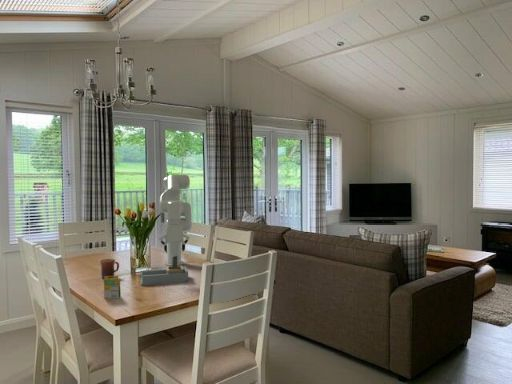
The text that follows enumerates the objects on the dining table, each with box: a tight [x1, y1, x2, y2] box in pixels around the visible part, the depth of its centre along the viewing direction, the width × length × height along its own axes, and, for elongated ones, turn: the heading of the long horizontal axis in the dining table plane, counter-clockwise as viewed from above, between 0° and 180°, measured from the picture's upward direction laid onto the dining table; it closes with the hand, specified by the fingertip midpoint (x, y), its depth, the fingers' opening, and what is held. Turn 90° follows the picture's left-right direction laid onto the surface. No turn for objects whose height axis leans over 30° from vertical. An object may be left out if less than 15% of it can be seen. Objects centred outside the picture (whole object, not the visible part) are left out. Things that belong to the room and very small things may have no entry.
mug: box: [99, 258, 120, 279], centre depth 239 cm, size 12×9×10 cm
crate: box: [166, 256, 184, 274], centre depth 233 cm, size 9×9×12 cm
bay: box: [140, 266, 189, 286], centre depth 232 cm, size 13×26×6 cm, turn 106°
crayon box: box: [103, 275, 121, 300], centre depth 200 cm, size 7×3×12 cm, turn 92°
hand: (174, 251), depth 232 cm, fingers open, 9 cm apart
